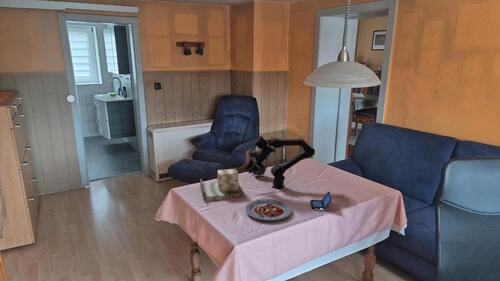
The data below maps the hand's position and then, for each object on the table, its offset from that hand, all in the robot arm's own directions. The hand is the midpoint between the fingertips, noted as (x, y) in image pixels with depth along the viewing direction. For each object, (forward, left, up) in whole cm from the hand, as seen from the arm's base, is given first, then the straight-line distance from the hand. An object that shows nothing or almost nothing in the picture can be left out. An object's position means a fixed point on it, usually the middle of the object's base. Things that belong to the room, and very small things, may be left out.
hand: (247, 171), depth 208 cm
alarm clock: (+8, -24, -13) cm, 29 cm away
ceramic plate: (-28, +18, -13) cm, 36 cm away
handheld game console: (-48, -7, -13) cm, 50 cm away
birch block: (+8, +10, -10) cm, 17 cm away
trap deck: (+11, +13, -13) cm, 21 cm away
